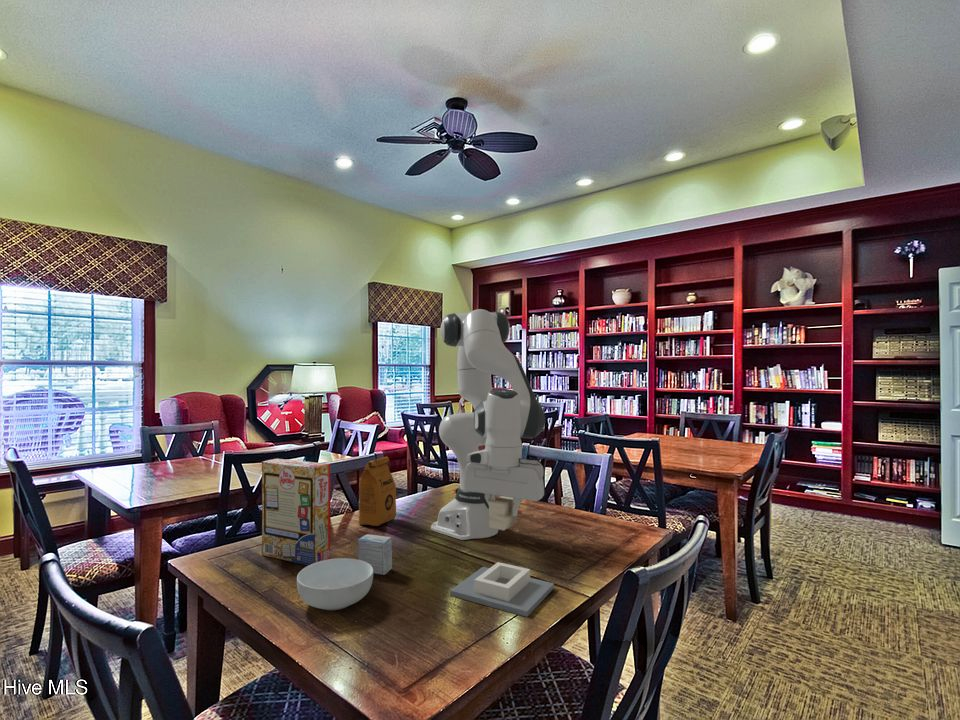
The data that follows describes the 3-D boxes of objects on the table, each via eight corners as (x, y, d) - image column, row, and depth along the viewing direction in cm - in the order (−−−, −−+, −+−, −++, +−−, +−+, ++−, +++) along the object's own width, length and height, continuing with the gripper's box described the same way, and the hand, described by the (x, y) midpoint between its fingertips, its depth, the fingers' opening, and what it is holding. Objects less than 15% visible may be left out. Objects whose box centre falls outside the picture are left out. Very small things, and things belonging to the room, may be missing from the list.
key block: (502, 519, 125) (502, 495, 125) (516, 522, 123) (516, 497, 123) (488, 527, 119) (489, 502, 119) (503, 530, 117) (504, 504, 117)
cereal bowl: (299, 627, 105) (299, 593, 105) (294, 593, 120) (294, 564, 120) (380, 611, 111) (380, 580, 111) (365, 581, 127) (366, 553, 127)
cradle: (450, 595, 119) (450, 577, 119) (482, 571, 133) (482, 555, 133) (527, 616, 109) (527, 597, 109) (553, 588, 123) (553, 571, 123)
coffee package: (400, 519, 176) (401, 456, 176) (377, 529, 165) (377, 463, 165) (378, 515, 181) (379, 454, 181) (354, 525, 170) (354, 460, 170)
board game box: (331, 560, 140) (331, 463, 140) (315, 568, 134) (315, 467, 134) (277, 548, 148) (277, 457, 148) (259, 556, 143) (260, 461, 143)
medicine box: (392, 569, 134) (392, 536, 134) (383, 576, 130) (384, 542, 130) (366, 565, 137) (366, 533, 137) (357, 571, 132) (357, 538, 132)
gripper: (548, 458, 119) (548, 517, 119) (474, 450, 129) (473, 504, 129) (538, 463, 113) (537, 524, 113) (461, 454, 124) (460, 510, 123)
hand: (503, 513), depth 121 cm, fingers closed on key block, 4 cm apart
